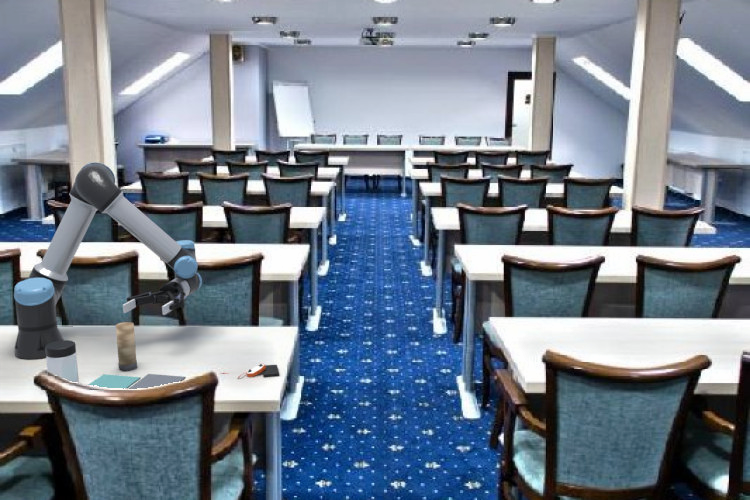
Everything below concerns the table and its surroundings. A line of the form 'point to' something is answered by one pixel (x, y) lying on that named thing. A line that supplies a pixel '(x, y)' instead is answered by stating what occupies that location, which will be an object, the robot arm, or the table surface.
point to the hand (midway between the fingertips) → (143, 309)
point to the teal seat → (114, 381)
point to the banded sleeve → (126, 346)
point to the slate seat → (156, 380)
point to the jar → (62, 359)
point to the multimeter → (266, 369)
